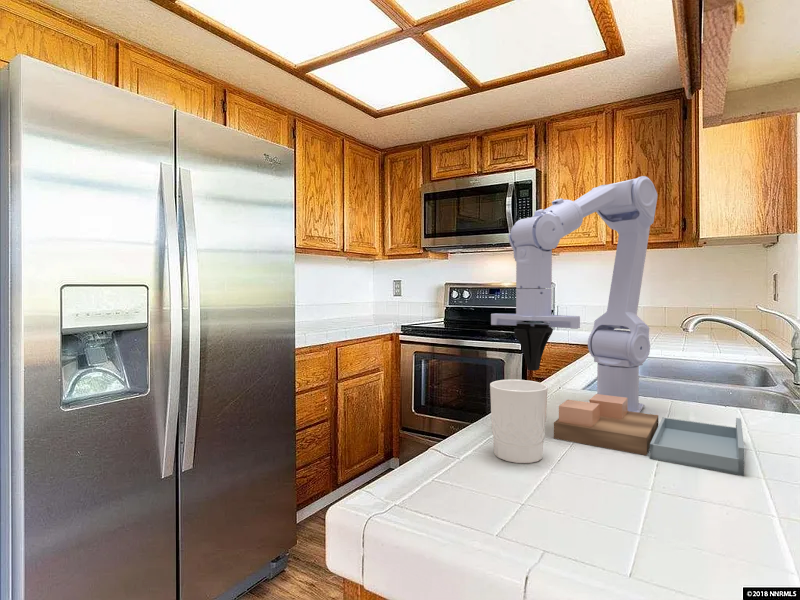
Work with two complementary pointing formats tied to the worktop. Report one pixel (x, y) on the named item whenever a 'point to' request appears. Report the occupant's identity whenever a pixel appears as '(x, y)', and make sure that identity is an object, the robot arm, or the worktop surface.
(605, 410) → the tile far
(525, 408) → the white cup
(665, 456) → the tray
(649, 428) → the board
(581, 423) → the tile near
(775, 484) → the worktop surface
